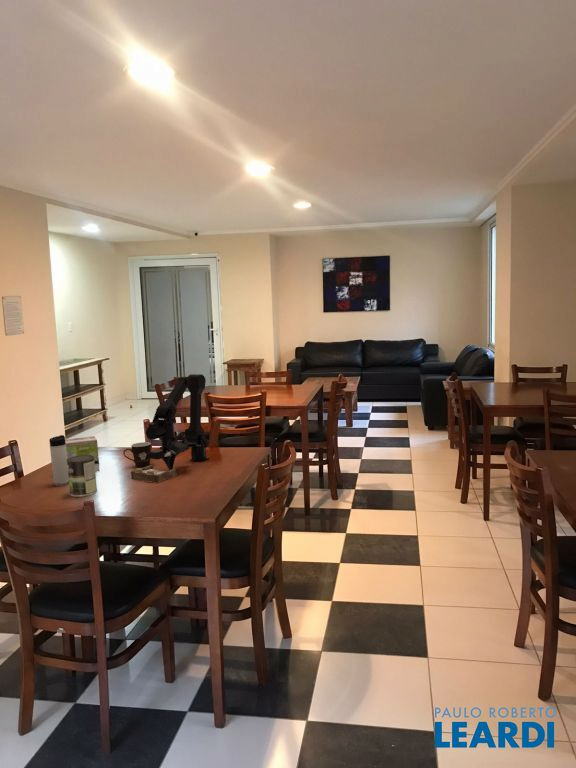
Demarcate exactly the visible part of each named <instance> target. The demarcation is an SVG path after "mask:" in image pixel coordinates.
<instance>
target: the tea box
mask: <svg viewBox="0 0 576 768" xmlns="http://www.w3.org/2000/svg"><path fill="white" fill-rule="evenodd" d="M65 442H66V450H67V459H68V458H70V457H74V456H79V455H93V456H94V463H95V473H97V472H96V471H99V472H100V459H99V445H98V439H97V438H96V436H94V435H92V436H84V437H83V436H82V437H75V438H67V439H66V438H65Z"/></svg>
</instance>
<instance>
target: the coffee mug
mask: <svg viewBox="0 0 576 768" xmlns="http://www.w3.org/2000/svg"><path fill="white" fill-rule="evenodd" d="M130 446H131V448H125V449H124V450H123V453H122V454H123V456H124V457H125V458H126V459H128V460H130V461H133V463H134V464H135V465H134V466H135V468H136V467H137V468H140V469H141V468H144V467H147V466H150V465H151V458H149V452H150V451H152V450H151V446H152V443H151V442H145V441H141V442H136V443H132V444H131V445H130ZM127 451H131V454H132V456H133V458H130V457H129V456H127V455H126V454H125V453H126V452H127ZM137 468H136V469H137Z"/></svg>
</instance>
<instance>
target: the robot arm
mask: <svg viewBox="0 0 576 768" xmlns="http://www.w3.org/2000/svg"><path fill="white" fill-rule="evenodd" d="M206 382H207V381H206V377H205V376H204V374H200V373H199V374H197V373H195V374H193V373H192V374H191V373H190V374H189V375H187V376H178V378H177V382H176V384H175V385H174V387H173V389H172V390H171V391H170V393H169V395H168V397H167V399H166V400H164V401H162V402H160V404H159V405H158V406H157V408H156V409H155V413H154V415H153V419H152V423H149V424H148V427H147V428H146V431H145V435H146V437H147V439H148V440H149V441H155V440H157V439H158V440H160V442H161V446H159V449H154V450H151V451H150V452H149V458H150V460H151V459H152V460H160V459H162V460H163V462H164V463H165V465H166V467H167V468H168V471H169V470H172V469H174V465H175V460H176V457H178V455H180V454H181V453H185V451H187V450H189V449H190V450H191V451H190V455H191V456H190V457H191V458H190V459H189V461H192V462H199V463H201V462H204V461H205V460H208V459H210V458H209V457H207V448H208V447H209V445H210V441H209V439H208V438H206V436H205V430H204V429H203V426H202V394H203V392H204V390H205V389H206ZM186 391H188V392H189V394H190V398H189V399H190V400H189V401H190V402H189V426H188V428H186V429H184V439H181V440H178V437H177V436H176V435H175V429H174V428H175V427H174V424H175V423H177V420H176V419H174V418H175V415H176V414H177V410H178V409H177V408H178V403H179V402H180V401H181V399H182V397H183V395H184V394H185V392H186Z"/></svg>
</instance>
